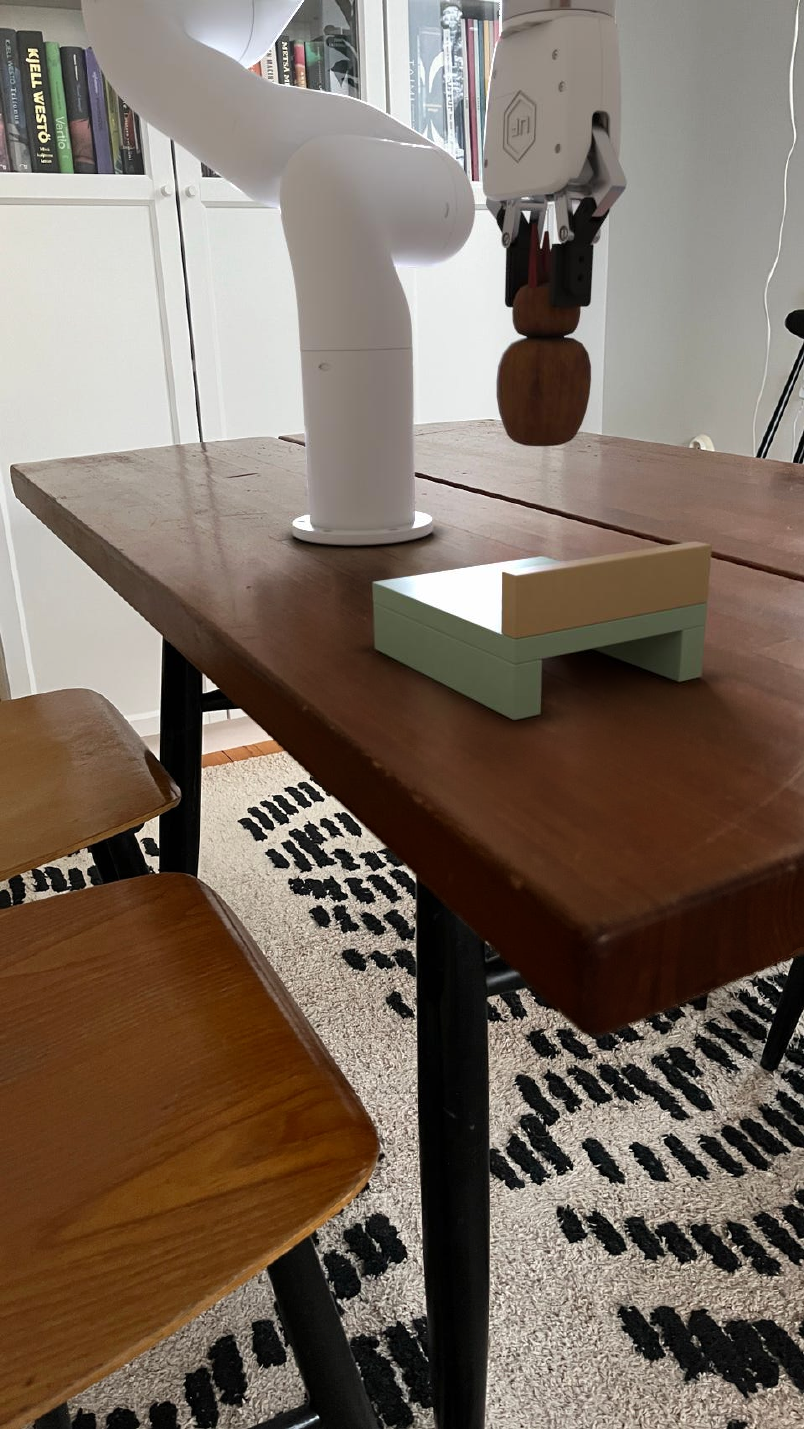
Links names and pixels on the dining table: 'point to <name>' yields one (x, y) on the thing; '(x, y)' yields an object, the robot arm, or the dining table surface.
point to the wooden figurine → (543, 363)
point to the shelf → (546, 619)
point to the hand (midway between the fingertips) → (546, 304)
